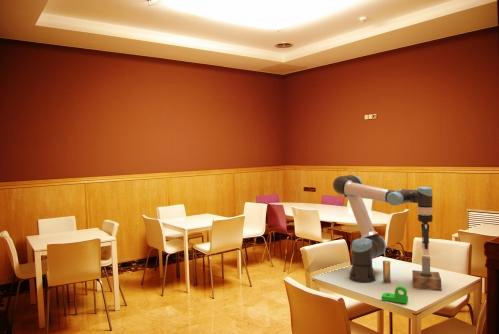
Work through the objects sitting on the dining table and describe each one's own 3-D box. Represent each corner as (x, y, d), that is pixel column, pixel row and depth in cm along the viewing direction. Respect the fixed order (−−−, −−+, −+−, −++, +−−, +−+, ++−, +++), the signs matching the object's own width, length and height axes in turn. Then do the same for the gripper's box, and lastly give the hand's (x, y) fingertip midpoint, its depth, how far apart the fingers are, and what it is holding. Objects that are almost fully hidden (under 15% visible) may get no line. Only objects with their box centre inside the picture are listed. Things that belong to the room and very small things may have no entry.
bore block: (413, 288, 212) (413, 277, 212) (412, 280, 225) (412, 270, 225) (441, 290, 207) (441, 279, 207) (438, 282, 220) (438, 272, 220)
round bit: (383, 282, 223) (382, 262, 222) (383, 280, 226) (383, 260, 226) (390, 283, 221) (390, 262, 221) (390, 281, 225) (390, 260, 225)
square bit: (422, 284, 215) (422, 258, 214) (422, 282, 219) (421, 256, 218) (430, 285, 213) (430, 258, 213) (429, 282, 217) (429, 256, 217)
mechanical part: (408, 299, 197) (407, 284, 196) (406, 303, 191) (406, 287, 191) (383, 296, 202) (383, 281, 202) (381, 299, 197) (381, 284, 197)
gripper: (434, 218, 202) (434, 258, 203) (430, 211, 225) (430, 246, 226) (418, 217, 205) (419, 256, 205) (416, 210, 228) (417, 245, 229)
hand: (425, 251), depth 216 cm, fingers open, 13 cm apart
